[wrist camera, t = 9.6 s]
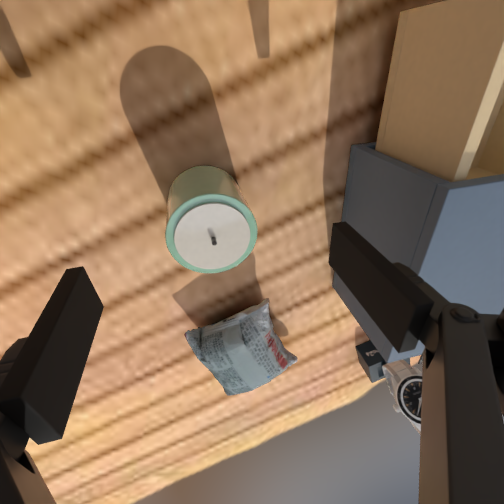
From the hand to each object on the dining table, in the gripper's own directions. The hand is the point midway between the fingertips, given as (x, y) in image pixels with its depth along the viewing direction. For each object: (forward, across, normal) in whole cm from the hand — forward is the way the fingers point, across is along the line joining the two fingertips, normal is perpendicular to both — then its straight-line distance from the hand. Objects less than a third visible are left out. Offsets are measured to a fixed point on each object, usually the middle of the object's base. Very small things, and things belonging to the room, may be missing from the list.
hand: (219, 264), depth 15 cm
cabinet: (+8, +18, -4) cm, 20 cm away
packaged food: (+8, +2, -16) cm, 18 cm away
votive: (+8, 0, 0) cm, 8 cm away
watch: (+8, +20, -25) cm, 33 cm away
